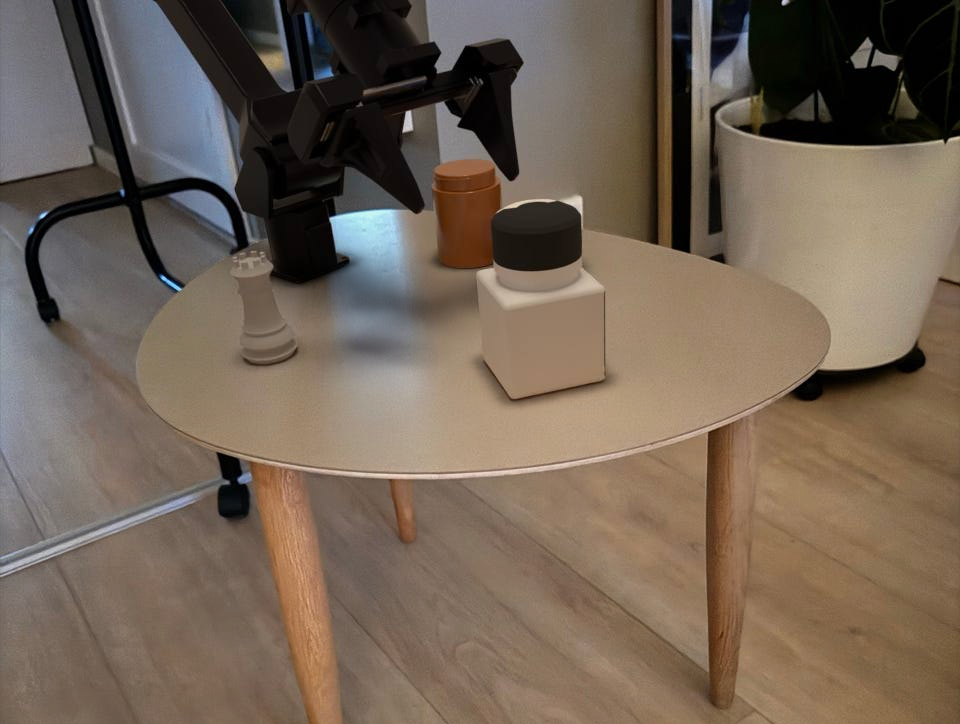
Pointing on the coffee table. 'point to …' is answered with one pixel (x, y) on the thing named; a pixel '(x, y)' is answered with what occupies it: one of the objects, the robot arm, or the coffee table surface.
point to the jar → (465, 211)
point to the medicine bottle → (540, 301)
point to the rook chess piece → (261, 312)
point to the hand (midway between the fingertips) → (469, 193)
